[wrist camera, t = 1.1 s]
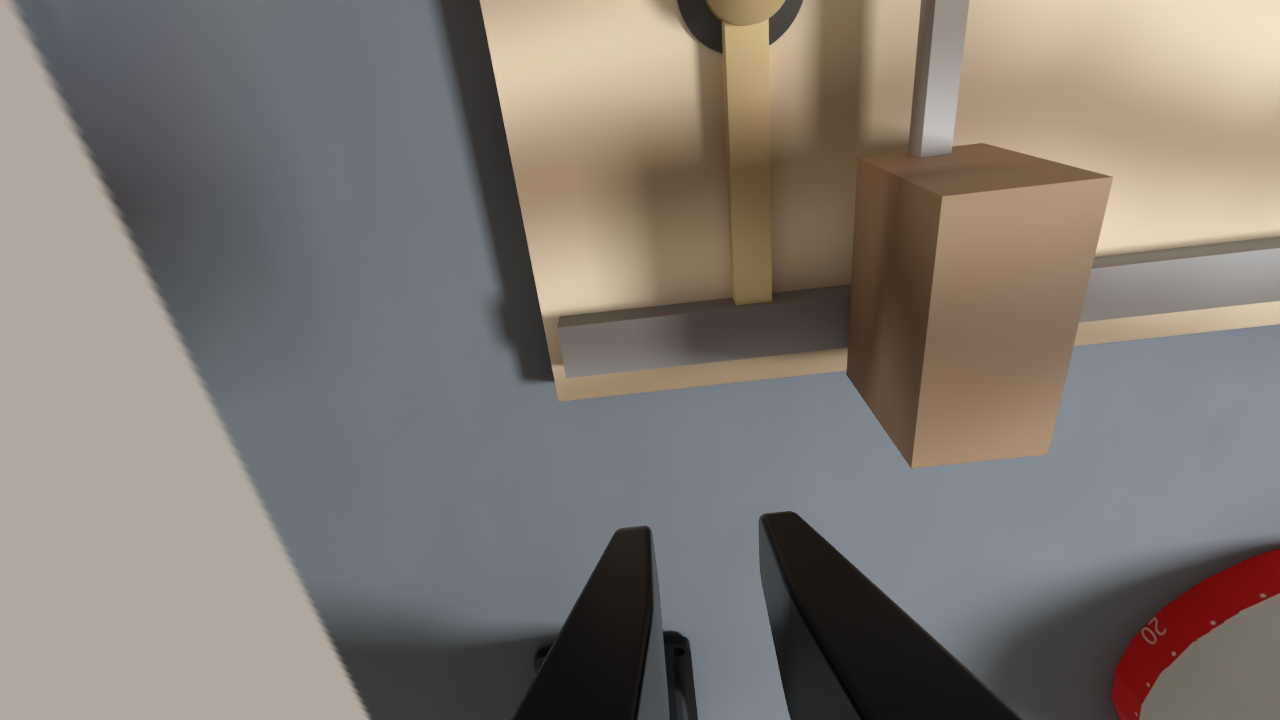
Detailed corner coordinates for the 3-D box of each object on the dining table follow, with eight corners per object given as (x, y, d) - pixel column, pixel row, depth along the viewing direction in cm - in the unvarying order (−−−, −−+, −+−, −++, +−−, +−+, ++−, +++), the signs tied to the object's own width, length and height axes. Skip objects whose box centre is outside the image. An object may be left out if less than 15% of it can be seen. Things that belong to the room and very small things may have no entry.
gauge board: (1344, 297, 19) (1434, 328, 17) (561, 382, 20) (554, 422, 18) (1587, -252, 14) (1769, -308, 11) (468, -107, 14) (441, -134, 12)
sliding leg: (943, 355, 18) (1047, 454, 14) (840, 366, 18) (911, 468, 14) (1002, -97, 13) (1196, -171, 9) (860, -80, 13) (981, -143, 9)
